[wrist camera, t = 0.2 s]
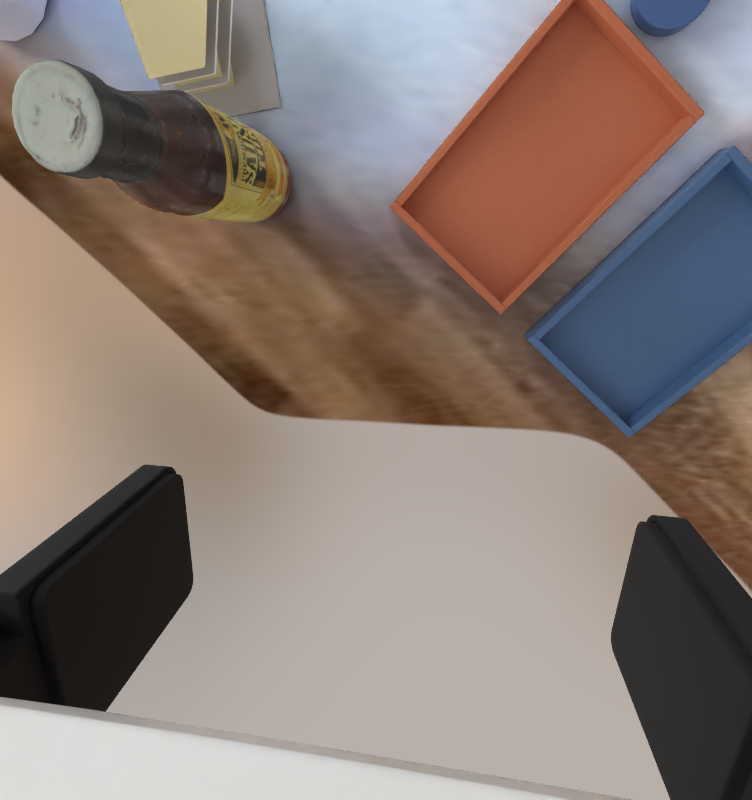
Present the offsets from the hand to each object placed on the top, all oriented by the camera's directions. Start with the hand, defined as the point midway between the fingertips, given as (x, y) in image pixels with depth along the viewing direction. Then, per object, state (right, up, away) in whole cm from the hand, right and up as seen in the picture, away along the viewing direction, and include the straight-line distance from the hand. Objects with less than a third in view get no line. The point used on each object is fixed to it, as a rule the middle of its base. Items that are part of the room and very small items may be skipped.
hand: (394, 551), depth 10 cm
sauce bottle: (-10, +20, +28) cm, 36 cm away
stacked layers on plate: (-12, +29, +25) cm, 40 cm away
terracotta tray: (+11, +20, +25) cm, 33 cm away
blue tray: (+21, +10, +26) cm, 35 cm away
